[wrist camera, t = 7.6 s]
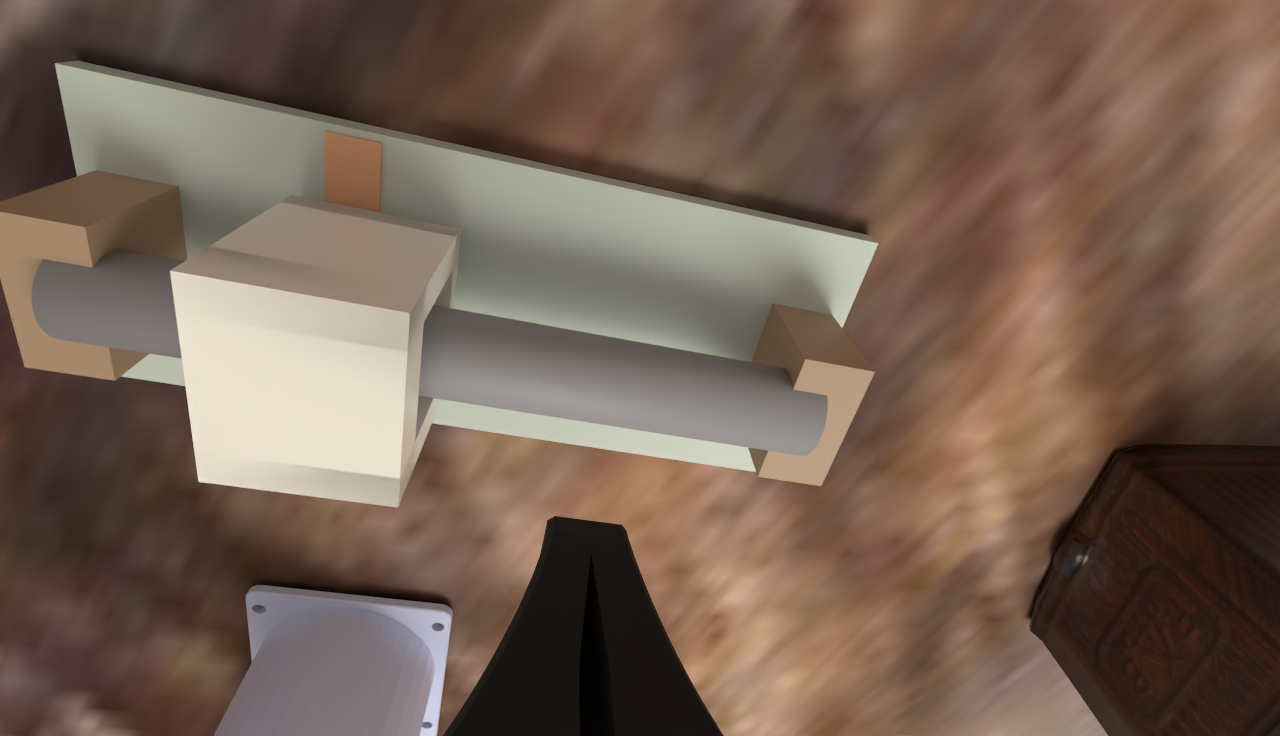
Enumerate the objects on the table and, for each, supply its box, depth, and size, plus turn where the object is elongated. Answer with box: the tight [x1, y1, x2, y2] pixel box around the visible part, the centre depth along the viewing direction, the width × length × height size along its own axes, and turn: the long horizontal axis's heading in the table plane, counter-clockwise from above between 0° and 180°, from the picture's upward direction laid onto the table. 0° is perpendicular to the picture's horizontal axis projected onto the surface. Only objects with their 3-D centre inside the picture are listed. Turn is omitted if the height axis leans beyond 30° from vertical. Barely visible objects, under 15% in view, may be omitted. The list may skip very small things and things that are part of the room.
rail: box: [0, 61, 878, 486], centre depth 18 cm, size 22×9×5 cm, turn 77°
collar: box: [170, 195, 461, 507], centre depth 16 cm, size 4×5×6 cm
